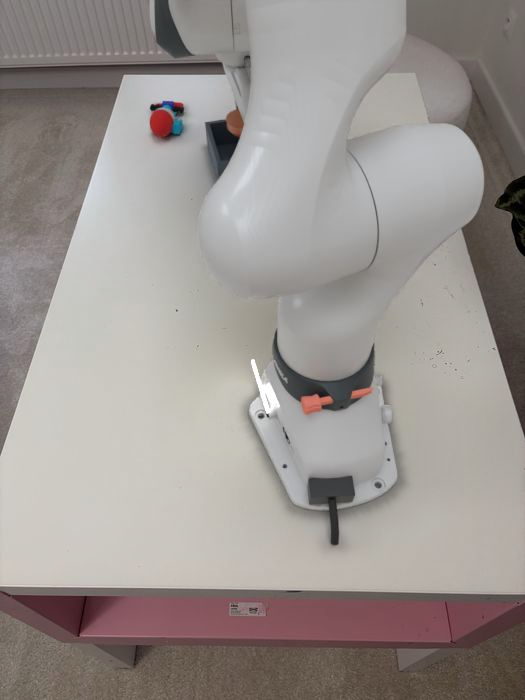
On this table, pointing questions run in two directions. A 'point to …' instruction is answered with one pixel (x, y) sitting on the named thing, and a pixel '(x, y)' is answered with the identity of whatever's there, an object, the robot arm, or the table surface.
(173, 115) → the toy figure
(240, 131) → the orange hockey puck
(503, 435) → the table surface
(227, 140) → the tub
